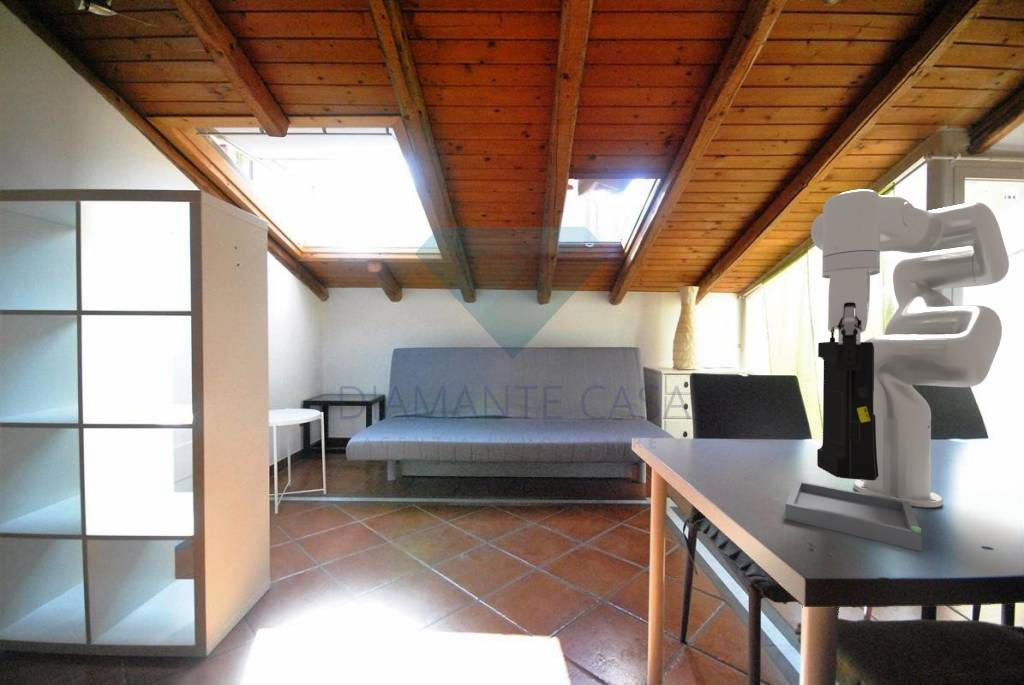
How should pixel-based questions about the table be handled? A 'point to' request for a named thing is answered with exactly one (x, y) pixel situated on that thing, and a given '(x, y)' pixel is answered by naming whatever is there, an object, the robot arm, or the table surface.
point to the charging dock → (855, 514)
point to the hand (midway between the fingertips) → (849, 368)
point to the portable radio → (848, 416)
